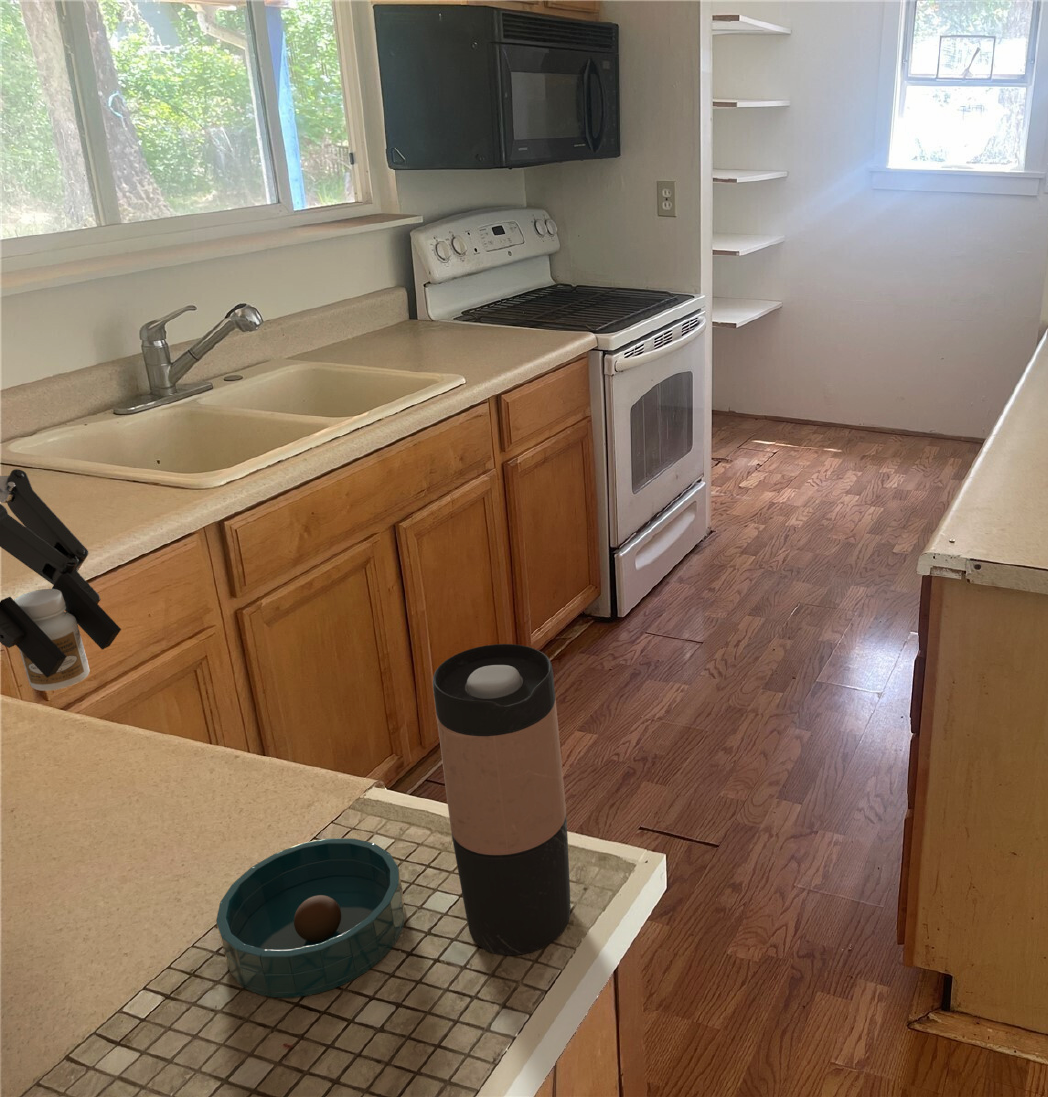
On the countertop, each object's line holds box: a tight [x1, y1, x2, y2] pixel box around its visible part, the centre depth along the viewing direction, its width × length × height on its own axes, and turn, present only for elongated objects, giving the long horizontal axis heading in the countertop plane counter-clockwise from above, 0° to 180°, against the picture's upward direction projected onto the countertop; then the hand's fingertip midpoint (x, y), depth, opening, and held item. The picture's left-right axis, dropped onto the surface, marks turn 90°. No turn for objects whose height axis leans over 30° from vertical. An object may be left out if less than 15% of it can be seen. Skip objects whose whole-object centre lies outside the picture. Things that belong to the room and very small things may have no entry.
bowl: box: [215, 837, 406, 999], centre depth 71 cm, size 12×12×4 cm
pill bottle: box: [13, 588, 91, 692], centre depth 86 cm, size 4×4×8 cm
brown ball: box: [294, 895, 341, 942], centre depth 70 cm, size 3×3×3 cm
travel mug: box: [432, 643, 571, 956], centre depth 69 cm, size 8×8×20 cm
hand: (84, 652), depth 85 cm, fingers closed on pill bottle, 4 cm apart
